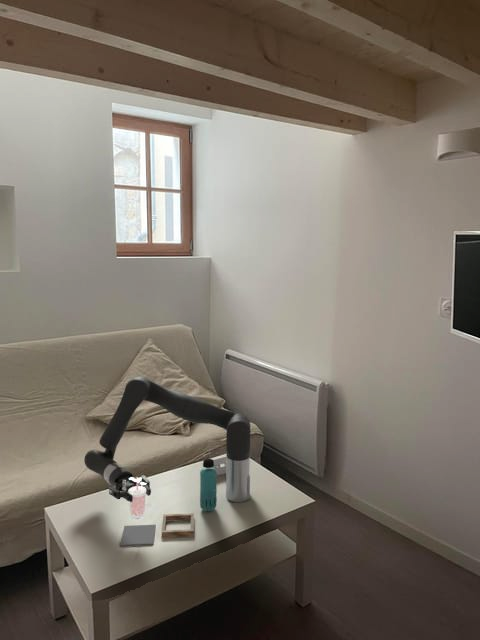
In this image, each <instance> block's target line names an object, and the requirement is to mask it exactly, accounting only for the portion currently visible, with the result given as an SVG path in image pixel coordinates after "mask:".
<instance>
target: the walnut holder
mask: <svg viewBox="0 0 480 640" xmlns="http://www.w3.org/2000/svg"><path fill="white" fill-rule="evenodd" d="M194 514H195V513H171V514H170V513H168V514H163V515H162V525H161V538H162V539H163V538H185V537H186V538H187V537H194V535H195V533H194V529H195V527H194V526H195V524H194V523H195V522H194V518H195V515H194ZM173 521H174V522H175V521H177V522H178V521H190V529H170V530H169V529H168V530H167V529H166V525H167V522H173Z"/></svg>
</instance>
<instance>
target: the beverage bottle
mask: <svg viewBox="0 0 480 640" xmlns="http://www.w3.org/2000/svg"><path fill="white" fill-rule="evenodd" d="M212 459H213V458H206V459H203V461H202V467H203V468H201V470H200V471H199V476H200V477H199V478H200V480H199V483H200V484H199V485H200V489H199V495H200V496H199V507H200V508H201V510H203V511H206V512H207V511H213V510H215V509H216V508H217V502H218V498H217V493H218V492H217V491H218V490H217V486H218V483H217V481H218V480H217V478H218V476H216V473H217V471H216V470H215V469H214V468H213V466H214V461H213V460H212Z"/></svg>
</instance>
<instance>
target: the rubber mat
mask: <svg viewBox="0 0 480 640" xmlns="http://www.w3.org/2000/svg"><path fill="white" fill-rule="evenodd" d="M156 527H157V525H156V524H137V525H135V524H132V525H124V526H123V531H122V534H121V539H120V542H119V547H136V546H137V547H139V546H154V542H155V534H156Z"/></svg>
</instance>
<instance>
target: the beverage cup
mask: <svg viewBox="0 0 480 640" xmlns="http://www.w3.org/2000/svg"><path fill="white" fill-rule="evenodd" d="M135 478H136V484H137V486H135V487H132V488H130V489H129V490H128V492H129V493H130V494H131V495H132V496H133V501H132V502H130V501H129V511H130V517H131V518H132V519H141V518H143V517H145V510H146V509H145V508H146V507H145V506H146V495H147V494H146V488H145V487H143V486H142V485H141V486H138V478H139V477H138V476H136V477H135Z"/></svg>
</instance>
